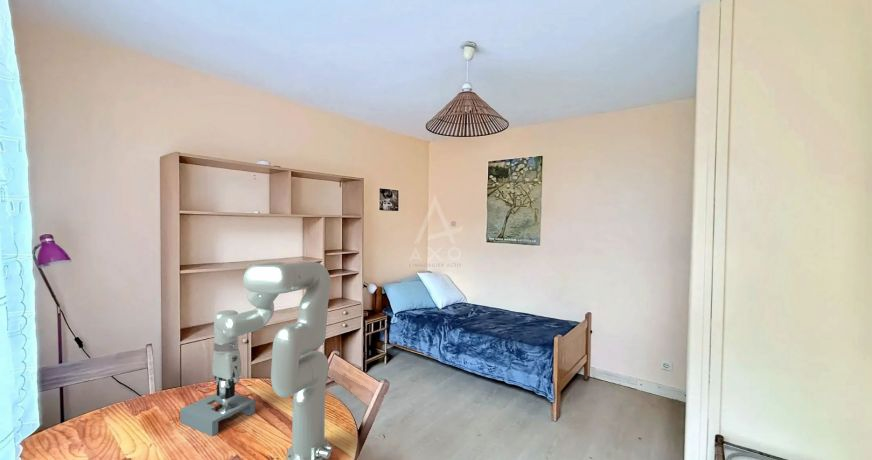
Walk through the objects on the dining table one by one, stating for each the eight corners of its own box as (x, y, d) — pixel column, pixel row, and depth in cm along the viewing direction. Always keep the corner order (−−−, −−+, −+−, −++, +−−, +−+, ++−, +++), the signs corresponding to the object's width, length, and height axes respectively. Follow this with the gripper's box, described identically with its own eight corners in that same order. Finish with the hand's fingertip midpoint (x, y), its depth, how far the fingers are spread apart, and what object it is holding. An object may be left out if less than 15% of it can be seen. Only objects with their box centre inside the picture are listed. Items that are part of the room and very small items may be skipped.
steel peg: (236, 413, 126) (236, 378, 126) (223, 420, 122) (223, 383, 121) (227, 410, 128) (227, 375, 128) (214, 416, 124) (215, 380, 123)
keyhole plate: (255, 413, 130) (255, 399, 130) (212, 436, 115) (212, 421, 115) (224, 402, 137) (224, 389, 137) (180, 422, 123) (180, 408, 123)
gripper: (251, 346, 124) (250, 396, 125) (221, 338, 131) (221, 386, 132) (231, 353, 117) (230, 406, 118) (201, 344, 124) (200, 395, 125)
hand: (225, 395), depth 125 cm, fingers closed on steel peg, 4 cm apart
